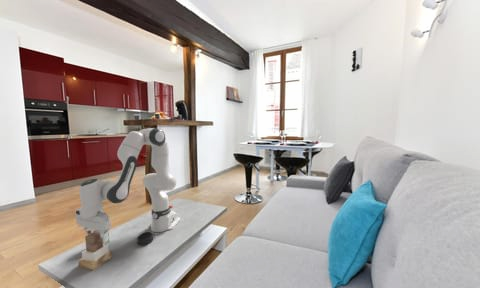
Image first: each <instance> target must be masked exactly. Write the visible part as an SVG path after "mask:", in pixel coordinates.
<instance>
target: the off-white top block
mask: <svg viewBox="0 0 480 288" xmlns="http://www.w3.org/2000/svg"><path fill="white" fill-rule="evenodd" d="M108 251H110V250H109V243H107V244H103V247H102V248H100V249H99V250H97V251H95V252H89V251H86V249H85V250H83V251H81V258H82V260H89V261H97V260H98V259H99V258H100V257H102V256H103V255H104V254H106V253H107V252H108Z"/></svg>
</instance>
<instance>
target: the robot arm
mask: <svg viewBox="0 0 480 288" xmlns="http://www.w3.org/2000/svg"><path fill="white" fill-rule="evenodd" d="M145 145H146V146H147V145H148V146H151V160H150V161H151V167H152V168H153V169H154V170H155V172H153V173H147V174H145V175H144V176H143V179H142V183H143V186H144V187H145V188H146V190H147V191H148V193H149V195H150V198H151V200H150V201H151V208H152V209H151V219H150V220H151V221H150V232H152V233H162V232H165V231H170V230H173V229H174V228H175V227H176V225H177V224H178V223H179V222H180V221H181V217H180V216H178V214H177V212H175V210H172V209H173V207H174V206H173V205H171V204H170V202H169V201H170V200H169V196H168V194H167V193H166V192H168V191H173V190H174V189H175V187H176V186H177V179H176V177H175V176H174V175H173V173H172V171H171V169H170V165H169V160H170V159H169V153H170V151H169V144H168V141H167V140H166V134H165V132H164V130H162V129H160V128H154V127H153V128H151V127H148V128H141V129H139V130H137V131H136V130H132V131H130V132H128V133H127V135H126V136H125V137H124V139H123V141H122V142H121V144H120V146H119V148H118V149H117V155H116V156H117V158H118V160H119V161H120V162H121V163H122V168H121V169H122V170H121V172H120V175H119V177H118V180H117V182H116V181H111V180H110V181H109V180H101V179H99V178H90V179H87V180H85V181H83V182H82V183H81V184H80V186H79V200H80V202H81V205H80V208H77V209H76V210H74V214H75V220H76V224H77V226H78V227H81V228H82V227H83V230H84V231H85V234H86V235H89V234H91V233H92V230H93V229H96V230H100V234H99V237H101V238H102V237H103V236H104V232H105V231H106V230H108V231H109V230H110V228H111V227H112V223H111V222H112V221H111V218H110V216H109V215H108V214H107V212H104V208H103V206H104V205H103V202H104V201H105V200H107V201H109V202H111V203H112V204H121V203H122V202H124V201H125V200H127V198H129V197H128V196H129V194H130V187H131V183H132V181H133V179H134V178H133V177H134V174H135V171H136V169H137V165H138V158H139V155H140V152H141V151H142V148H143V146H145ZM165 191H166V192H165ZM169 204H170V205H169ZM91 229H92V230H91Z"/></svg>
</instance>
